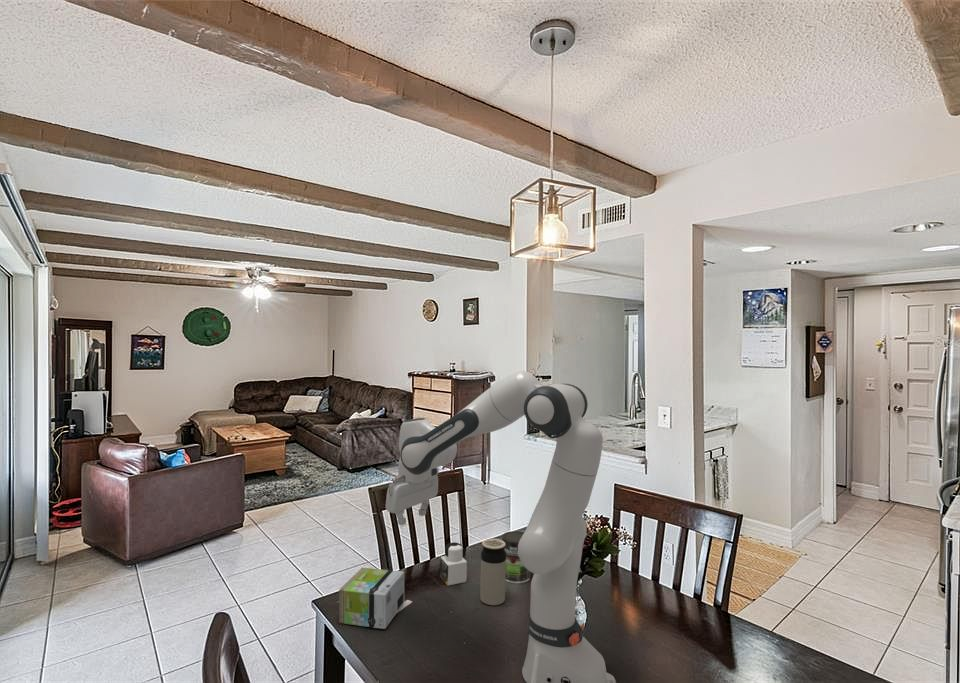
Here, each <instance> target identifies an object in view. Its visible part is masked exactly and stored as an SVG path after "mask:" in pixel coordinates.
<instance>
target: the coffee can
mask: <svg viewBox="0 0 960 683" xmlns="http://www.w3.org/2000/svg"><path fill="white" fill-rule="evenodd" d="M523 534H524V532H522V531H515V530H512V531H507V532H504V533H503V534H502V535H501V540H502V541H504V542H505V544H506V545H505V547H504V550H505V552H506V580H505V582H507V583H510V584H517V585H518V584H525V583H527V582H529V581H530V579H531V572H530V571H529V570H527V569H526V568H525V567H524V565H523V564H522V562H521V561H520V558H519V555H518V544H519V541H520V539H521V537H522V536H523Z"/></svg>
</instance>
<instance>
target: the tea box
mask: <svg viewBox="0 0 960 683" xmlns="http://www.w3.org/2000/svg"><path fill="white" fill-rule="evenodd" d="M338 592H339V594H338V595H339V597H338V598H339V600H338V601H339V603H338V610H339V611H338V612H339V615H338V618H339V619H338V620H339V622H338V623H340V624H345V625H353V626H359V627H366V628H367V627H368V628H372V627H374V628H373V629H382V630H386V628H387V627H388V626H389V624H390V623H391V622H392V620H393V619H394V617H395V616H396V614H398V613H399V612H398V610H399V609H400V608H401V606H402V605H403V604H404V602H405V572H404V571H401V570H391V569H382V568H381V569H380V568H369V567H361V568H360V569H359V570H358V571H356V572H355V574H354V575H353V576H352V577H351V578H350V579H349V580H348V581H347V582H345V584H343V585H342V586H341V588H339V589H338ZM397 612H398V613H397Z"/></svg>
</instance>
